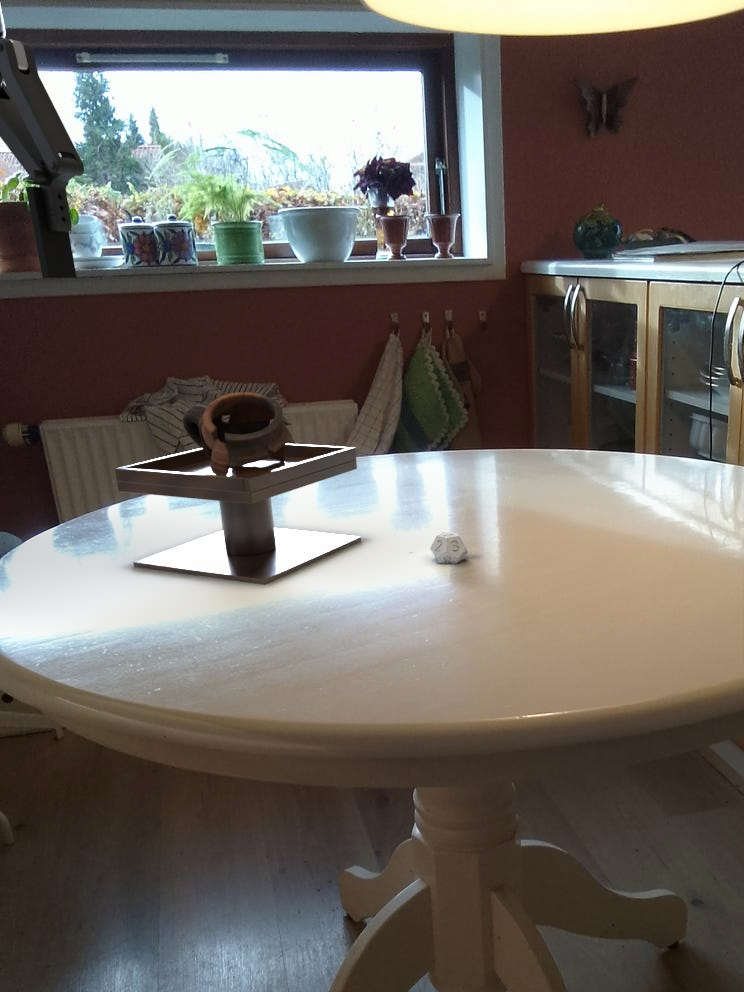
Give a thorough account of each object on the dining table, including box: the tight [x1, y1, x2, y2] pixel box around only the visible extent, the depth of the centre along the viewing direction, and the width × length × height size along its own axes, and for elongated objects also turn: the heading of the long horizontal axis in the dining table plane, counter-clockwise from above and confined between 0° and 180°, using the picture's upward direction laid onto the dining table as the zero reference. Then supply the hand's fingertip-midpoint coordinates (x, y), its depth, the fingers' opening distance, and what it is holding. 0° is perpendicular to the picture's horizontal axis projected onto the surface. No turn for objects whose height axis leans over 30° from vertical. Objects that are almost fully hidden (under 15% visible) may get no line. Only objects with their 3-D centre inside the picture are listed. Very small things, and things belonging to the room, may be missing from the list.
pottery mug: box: [182, 391, 295, 476], centre depth 89 cm, size 12×10×8 cm
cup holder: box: [114, 443, 362, 586], centre depth 92 cm, size 16×17×10 cm
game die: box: [429, 531, 469, 564], centre depth 89 cm, size 4×4×3 cm
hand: (1, 280), depth 77 cm, fingers open, 13 cm apart
